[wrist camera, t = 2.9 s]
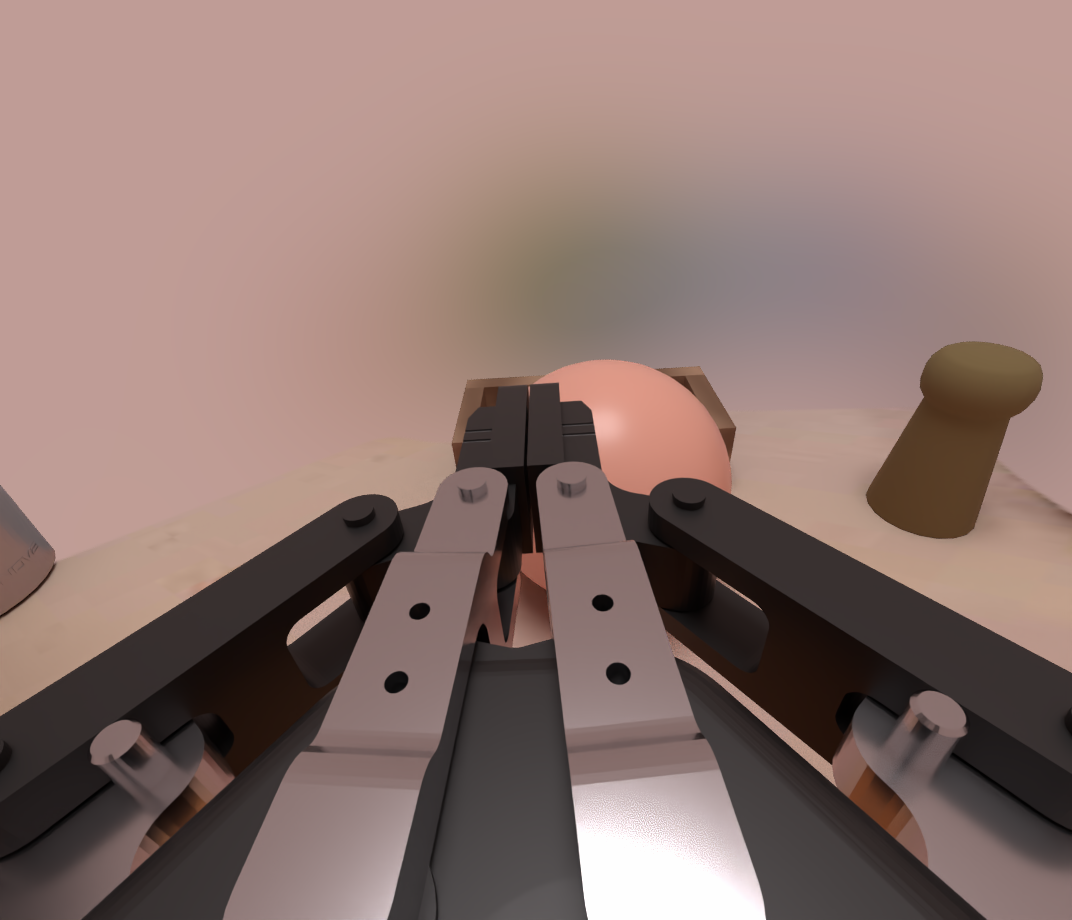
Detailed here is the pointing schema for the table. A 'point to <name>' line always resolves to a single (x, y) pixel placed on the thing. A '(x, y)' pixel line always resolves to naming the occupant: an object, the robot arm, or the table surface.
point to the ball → (640, 431)
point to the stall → (487, 389)
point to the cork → (954, 438)
